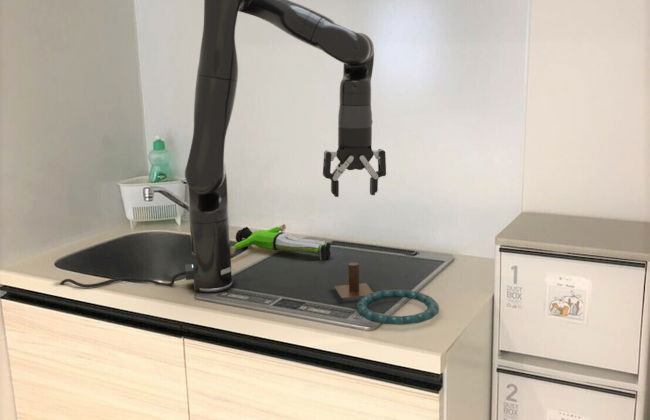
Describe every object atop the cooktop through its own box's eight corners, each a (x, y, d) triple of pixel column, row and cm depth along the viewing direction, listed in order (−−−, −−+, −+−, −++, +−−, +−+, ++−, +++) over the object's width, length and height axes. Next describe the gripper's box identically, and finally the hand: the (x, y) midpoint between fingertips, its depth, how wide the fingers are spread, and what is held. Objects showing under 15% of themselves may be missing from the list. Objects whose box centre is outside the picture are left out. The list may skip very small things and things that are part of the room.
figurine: (351, 248, 198) (266, 234, 213) (351, 227, 197) (266, 215, 212) (298, 277, 175) (207, 260, 190) (297, 254, 173) (205, 238, 188)
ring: (368, 333, 140) (368, 322, 139) (348, 302, 157) (347, 292, 156) (451, 324, 143) (451, 313, 143) (422, 294, 160) (422, 285, 160)
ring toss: (341, 302, 157) (340, 270, 155) (333, 290, 164) (333, 260, 162) (375, 299, 158) (375, 267, 156) (366, 287, 166) (365, 257, 164)
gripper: (381, 122, 158) (379, 190, 162) (320, 123, 156) (320, 193, 160) (390, 126, 151) (388, 197, 155) (327, 127, 149) (326, 200, 153)
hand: (354, 195), depth 157 cm, fingers open, 8 cm apart
